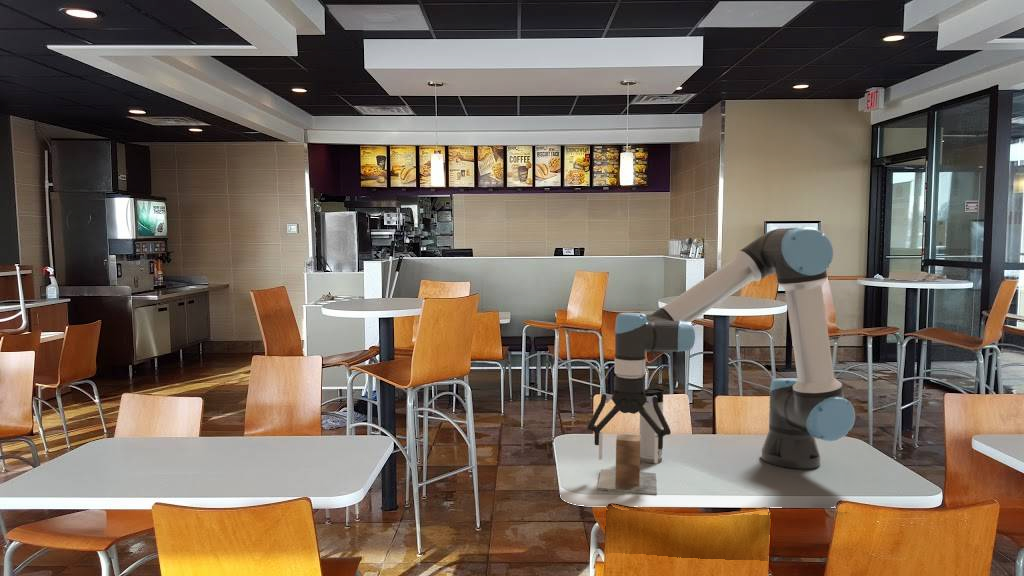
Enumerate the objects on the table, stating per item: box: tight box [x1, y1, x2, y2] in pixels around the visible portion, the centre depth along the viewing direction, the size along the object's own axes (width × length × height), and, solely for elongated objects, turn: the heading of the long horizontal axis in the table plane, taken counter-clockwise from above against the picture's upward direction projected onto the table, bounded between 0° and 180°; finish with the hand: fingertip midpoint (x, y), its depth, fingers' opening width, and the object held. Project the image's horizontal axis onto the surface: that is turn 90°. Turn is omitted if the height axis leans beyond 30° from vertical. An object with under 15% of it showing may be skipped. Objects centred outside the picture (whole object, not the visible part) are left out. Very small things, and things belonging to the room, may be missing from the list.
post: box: [596, 468, 658, 495], centre depth 167 cm, size 14×14×8 cm
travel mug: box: [639, 387, 666, 464], centre depth 185 cm, size 6×7×20 cm
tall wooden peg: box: [615, 433, 641, 485], centre depth 167 cm, size 6×6×11 cm
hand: (628, 460), depth 167 cm, fingers open, 13 cm apart
